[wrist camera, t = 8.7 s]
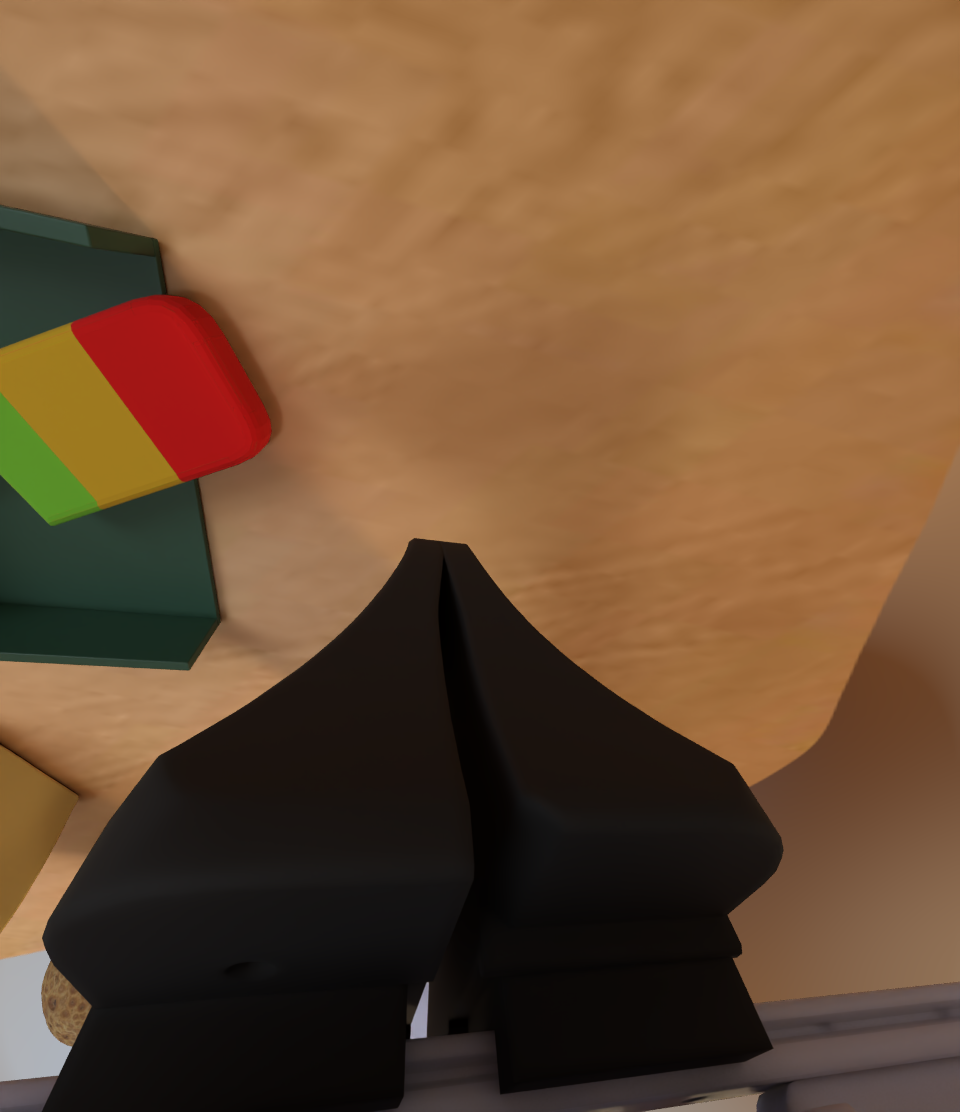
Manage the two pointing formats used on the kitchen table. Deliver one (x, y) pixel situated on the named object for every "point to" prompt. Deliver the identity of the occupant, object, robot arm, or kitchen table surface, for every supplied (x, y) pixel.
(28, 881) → the cheese
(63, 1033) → the natural sponge
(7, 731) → the kitchen table surface
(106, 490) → the popsicle
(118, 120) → the kitchen table surface
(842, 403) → the kitchen table surface
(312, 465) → the kitchen table surface
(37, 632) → the dustpan
